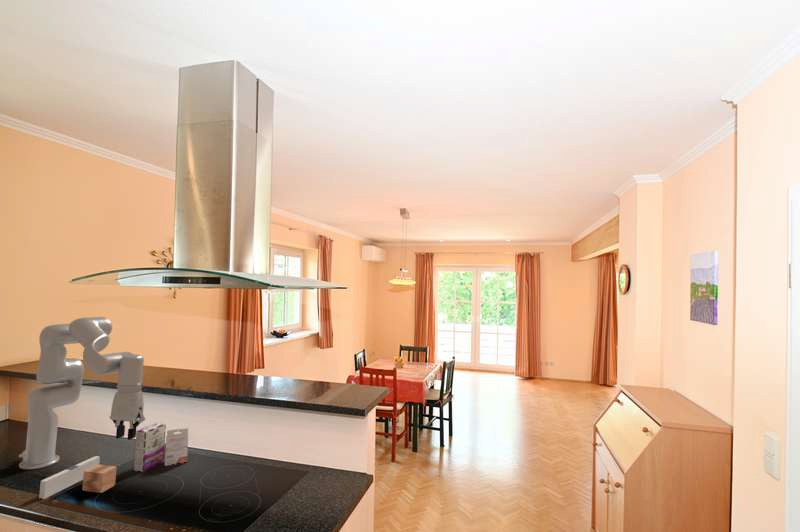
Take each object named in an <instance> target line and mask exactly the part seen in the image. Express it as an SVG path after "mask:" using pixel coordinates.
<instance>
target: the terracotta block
mask: <svg viewBox="0 0 800 532" xmlns="http://www.w3.org/2000/svg"><path fill="white" fill-rule="evenodd" d="M116 478H117V466H114V465H106V464H100V463H99V464H98V465H96V466H94V467H92V468H90V469H87V470H85V471H84V476H83V480H82V491H84V492H89V493H90V492H91V493H98V494H99V493H101V494H102V493H104V492H106V491H107V490H109V489H111V488H113V487H115V486H116V480H117V479H116ZM114 485H115V486H114Z"/></svg>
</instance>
